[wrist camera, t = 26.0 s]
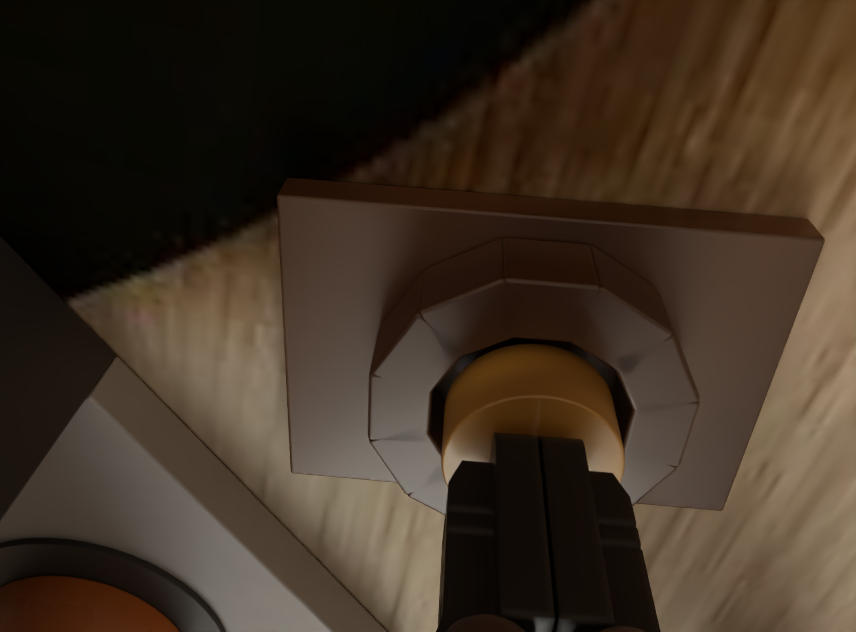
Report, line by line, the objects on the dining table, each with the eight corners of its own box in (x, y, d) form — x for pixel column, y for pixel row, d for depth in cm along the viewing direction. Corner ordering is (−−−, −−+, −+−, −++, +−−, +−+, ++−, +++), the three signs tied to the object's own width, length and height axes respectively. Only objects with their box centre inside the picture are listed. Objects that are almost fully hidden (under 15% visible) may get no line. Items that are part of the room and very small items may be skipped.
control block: (809, 217, 15) (864, 283, 12) (713, 483, 18) (743, 569, 16) (286, 176, 15) (253, 234, 13) (298, 447, 19) (274, 527, 16)
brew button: (628, 350, 14) (643, 404, 13) (596, 478, 16) (606, 538, 14) (451, 335, 14) (447, 387, 13) (439, 465, 16) (435, 523, 14)
